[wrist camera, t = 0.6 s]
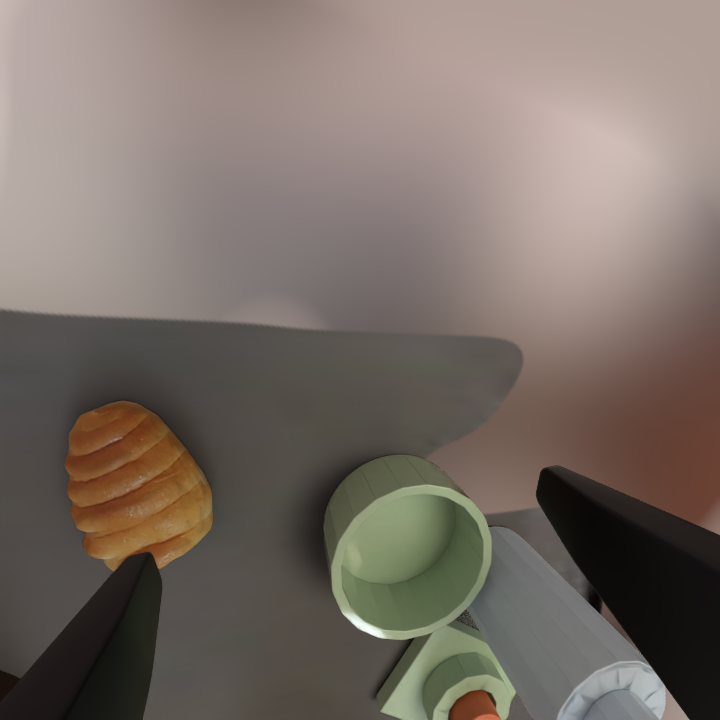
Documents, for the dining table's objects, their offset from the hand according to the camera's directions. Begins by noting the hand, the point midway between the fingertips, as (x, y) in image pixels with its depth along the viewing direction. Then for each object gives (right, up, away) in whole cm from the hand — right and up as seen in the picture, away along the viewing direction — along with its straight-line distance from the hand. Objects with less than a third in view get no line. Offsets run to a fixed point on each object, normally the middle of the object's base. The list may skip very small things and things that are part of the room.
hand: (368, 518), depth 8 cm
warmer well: (+2, -8, +18) cm, 20 cm away
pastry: (-13, -4, +14) cm, 20 cm away
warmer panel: (+7, -21, +21) cm, 31 cm away
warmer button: (+8, -22, +19) cm, 30 cm away
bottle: (+10, -12, +20) cm, 26 cm away
